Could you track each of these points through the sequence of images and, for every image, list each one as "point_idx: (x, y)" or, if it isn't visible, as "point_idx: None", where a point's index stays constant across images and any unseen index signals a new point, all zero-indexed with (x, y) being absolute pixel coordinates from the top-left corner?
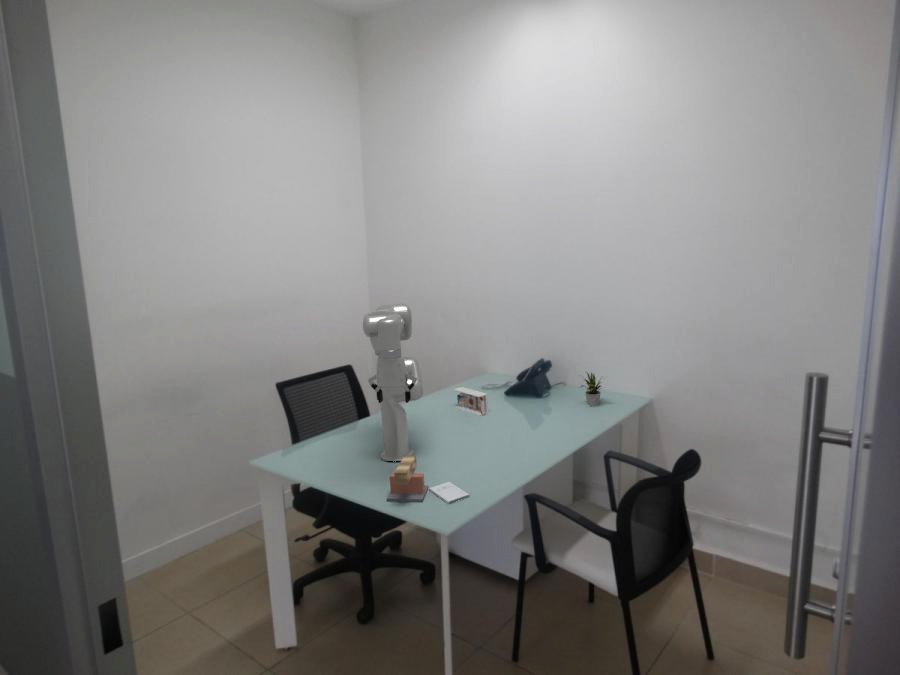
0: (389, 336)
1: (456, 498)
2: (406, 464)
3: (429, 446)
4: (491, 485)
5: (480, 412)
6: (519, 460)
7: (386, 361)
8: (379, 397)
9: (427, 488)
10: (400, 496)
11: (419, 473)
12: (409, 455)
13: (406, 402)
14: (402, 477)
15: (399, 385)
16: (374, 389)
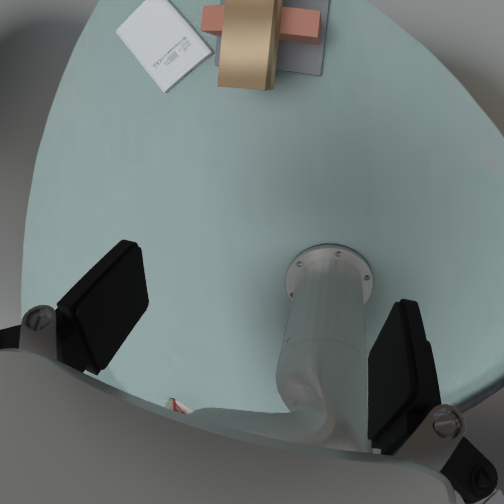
0: None
1: (139, 6)
2: (243, 3)
3: (249, 316)
4: (84, 93)
5: (178, 406)
6: (62, 210)
7: None
8: (413, 340)
9: (216, 51)
10: (288, 3)
11: (214, 30)
12: (244, 86)
13: (131, 242)
14: None
15: (29, 374)
16: (463, 438)
